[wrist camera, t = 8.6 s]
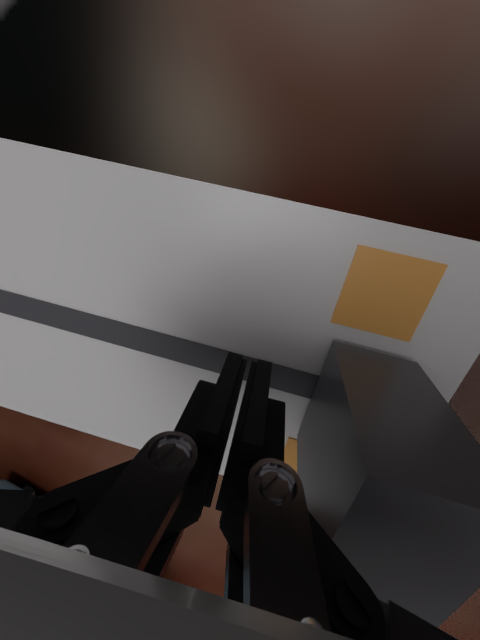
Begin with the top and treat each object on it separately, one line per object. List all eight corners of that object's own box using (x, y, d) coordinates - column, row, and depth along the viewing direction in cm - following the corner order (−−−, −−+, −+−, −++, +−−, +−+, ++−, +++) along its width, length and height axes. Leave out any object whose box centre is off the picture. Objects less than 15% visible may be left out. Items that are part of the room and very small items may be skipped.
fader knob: (417, 362, 11) (541, 527, 5) (367, 455, 13) (419, 645, 7) (332, 340, 11) (367, 475, 6) (297, 435, 13) (297, 602, 8)
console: (485, 243, 12) (544, 255, 9) (361, 472, 18) (373, 524, 15) (-97, 116, 14) (-193, 95, 12) (-40, 353, 20) (-95, 377, 17)
